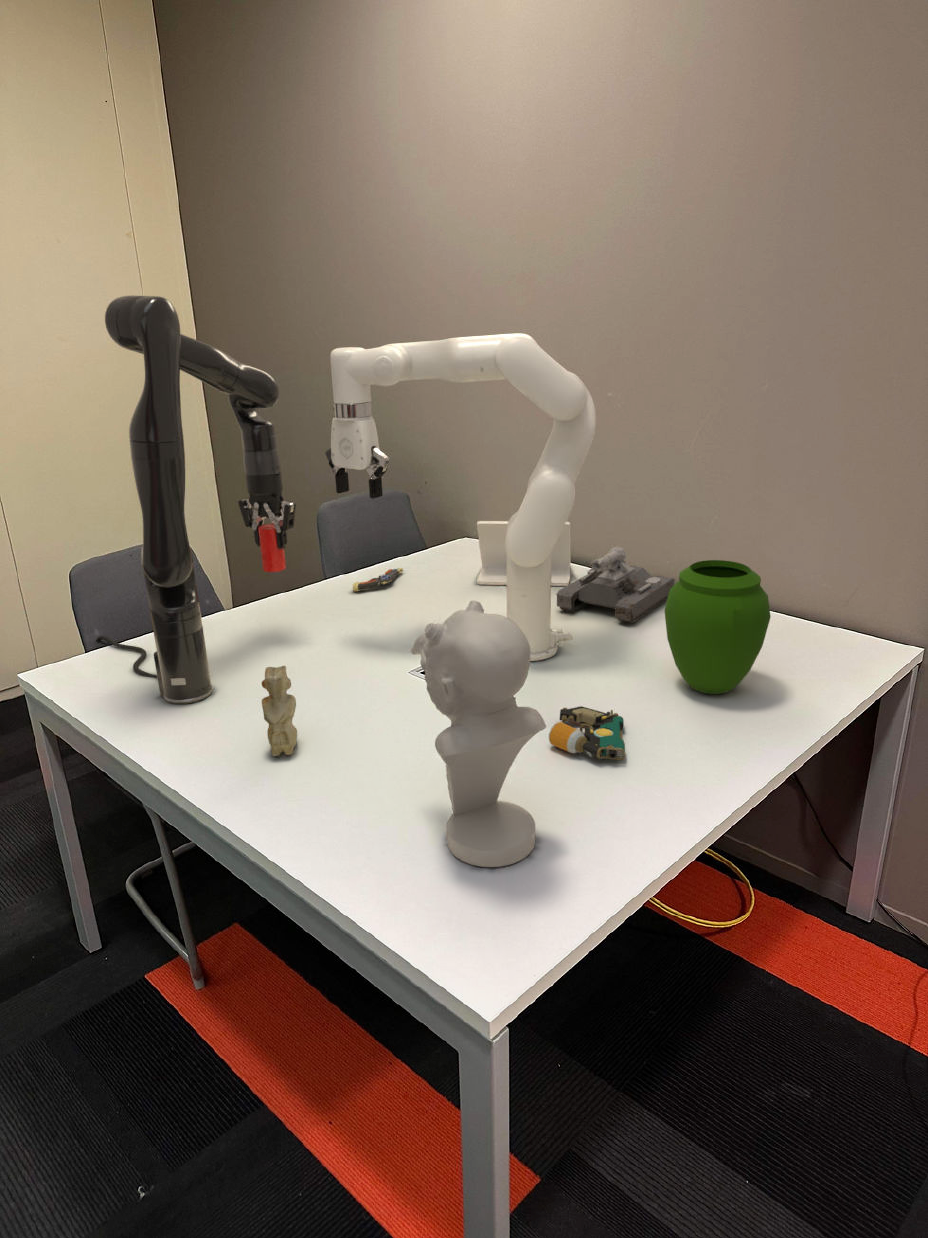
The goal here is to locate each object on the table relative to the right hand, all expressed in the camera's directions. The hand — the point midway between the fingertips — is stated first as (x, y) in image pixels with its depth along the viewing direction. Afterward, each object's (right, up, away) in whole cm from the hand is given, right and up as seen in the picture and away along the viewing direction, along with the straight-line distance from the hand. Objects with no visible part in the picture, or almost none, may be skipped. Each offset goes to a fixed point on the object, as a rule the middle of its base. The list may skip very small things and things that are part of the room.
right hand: (359, 494), depth 179 cm
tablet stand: (+39, -14, +60) cm, 73 cm away
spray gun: (+44, -47, -29) cm, 71 cm away
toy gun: (-2, -16, +58) cm, 60 cm away
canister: (-20, -15, +11) cm, 28 cm away
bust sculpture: (+23, -57, -54) cm, 82 cm away
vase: (+71, -40, -10) cm, 82 cm away
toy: (+60, -23, +36) cm, 73 cm away
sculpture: (-10, -49, -29) cm, 58 cm away
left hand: (-20, -10, +9) cm, 25 cm away
